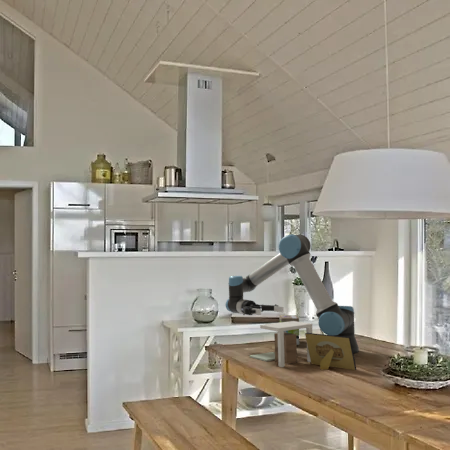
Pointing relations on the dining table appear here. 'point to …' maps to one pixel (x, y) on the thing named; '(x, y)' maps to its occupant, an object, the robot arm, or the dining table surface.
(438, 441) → the dining table surface
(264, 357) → the mat
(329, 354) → the picture frame
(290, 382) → the dining table surface
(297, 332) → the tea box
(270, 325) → the small white table
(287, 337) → the walnut block
